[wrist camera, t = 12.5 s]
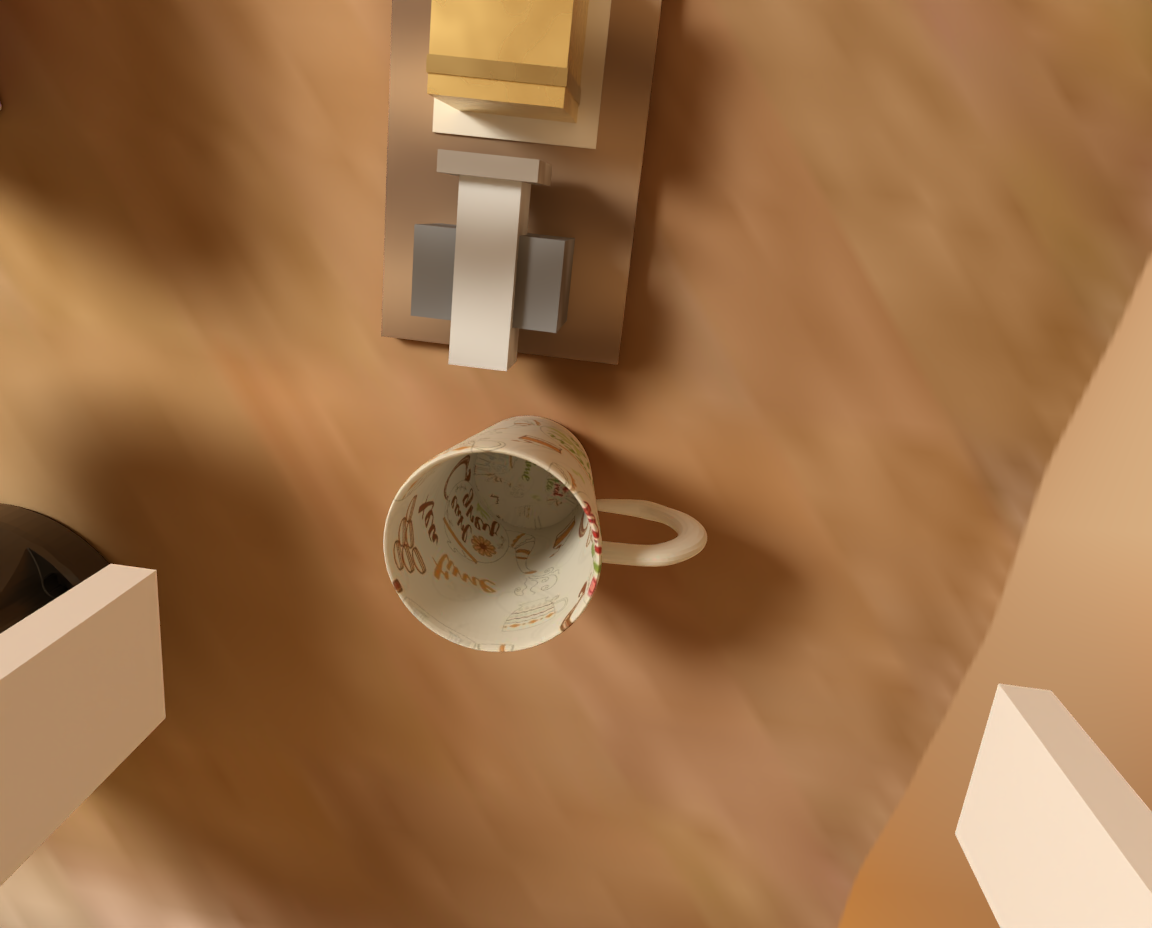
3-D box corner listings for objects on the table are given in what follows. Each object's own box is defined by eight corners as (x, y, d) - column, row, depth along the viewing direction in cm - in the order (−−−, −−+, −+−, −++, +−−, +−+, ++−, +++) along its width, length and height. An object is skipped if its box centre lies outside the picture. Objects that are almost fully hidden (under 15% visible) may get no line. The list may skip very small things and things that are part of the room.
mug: (449, 383, 39) (381, 437, 30) (712, 406, 38) (729, 469, 29) (445, 543, 42) (382, 641, 32) (692, 569, 41) (703, 677, 31)
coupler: (467, -52, 33) (434, -99, 28) (594, -40, 32) (582, -85, 27) (458, 110, 34) (425, 93, 29) (577, 123, 34) (564, 107, 29)
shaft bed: (618, 361, 38) (611, 387, 32) (388, 333, 39) (339, 354, 33) (702, -333, 30) (712, -467, 24) (412, -352, 31) (353, -487, 25)
